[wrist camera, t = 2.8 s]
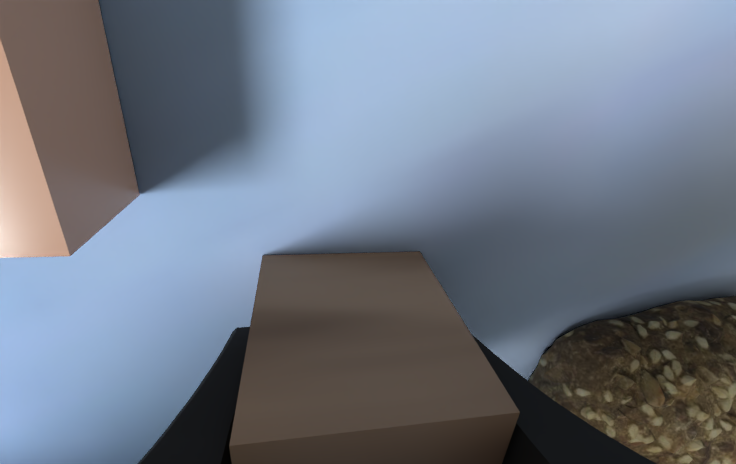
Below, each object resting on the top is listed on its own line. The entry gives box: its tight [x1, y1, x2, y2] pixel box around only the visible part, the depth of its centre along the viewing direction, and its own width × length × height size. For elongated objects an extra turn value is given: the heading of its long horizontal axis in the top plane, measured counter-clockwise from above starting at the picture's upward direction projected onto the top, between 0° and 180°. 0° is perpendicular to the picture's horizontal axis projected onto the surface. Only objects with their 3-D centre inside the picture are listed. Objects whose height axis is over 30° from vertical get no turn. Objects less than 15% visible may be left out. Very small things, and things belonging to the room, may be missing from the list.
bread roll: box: [528, 296, 736, 464], centre depth 14 cm, size 13×12×5 cm
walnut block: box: [229, 251, 520, 464], centre depth 9 cm, size 4×4×6 cm
